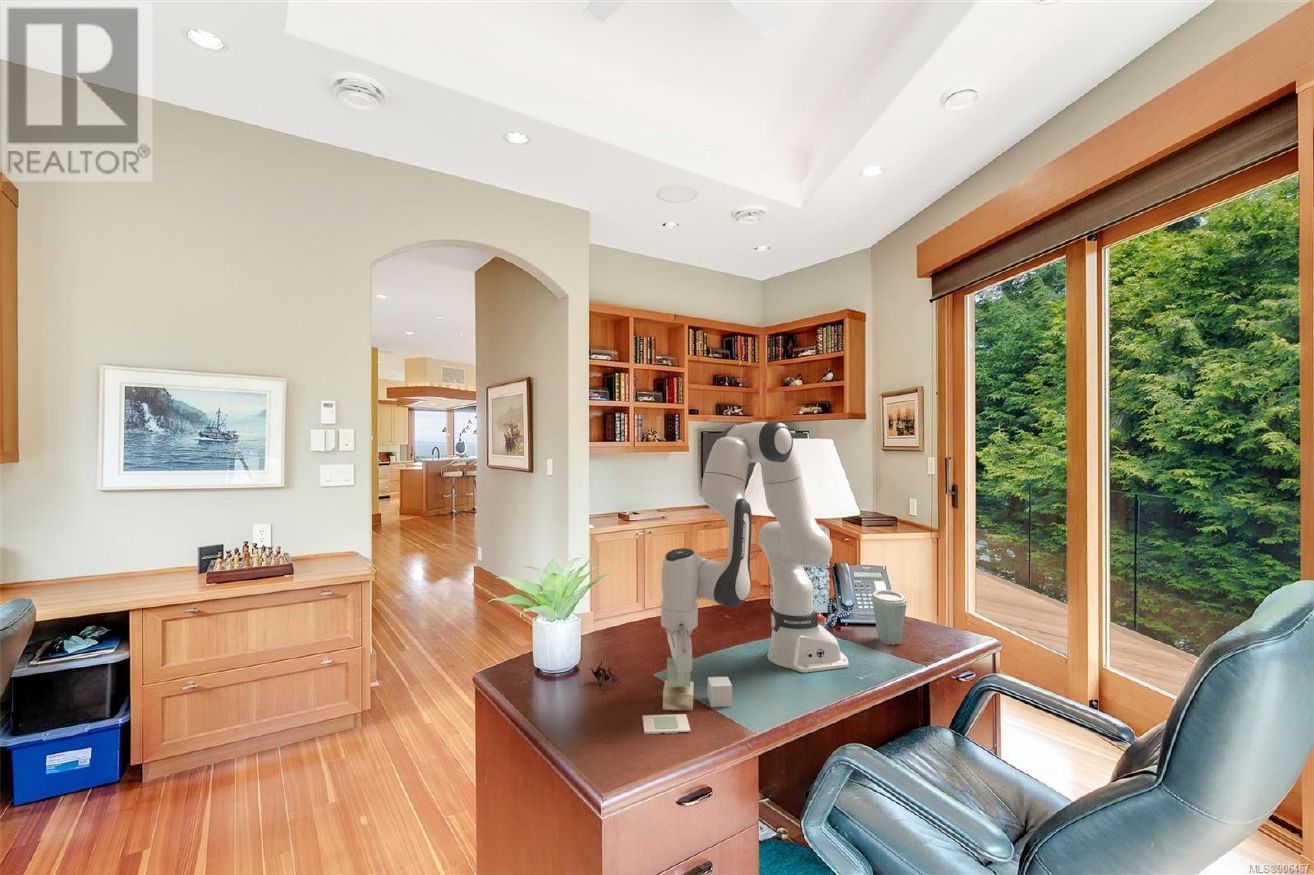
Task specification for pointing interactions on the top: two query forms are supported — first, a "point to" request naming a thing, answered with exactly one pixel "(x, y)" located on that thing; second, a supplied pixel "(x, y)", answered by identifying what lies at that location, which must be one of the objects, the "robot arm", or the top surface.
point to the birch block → (678, 697)
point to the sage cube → (673, 675)
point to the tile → (665, 724)
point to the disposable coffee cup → (889, 615)
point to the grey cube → (719, 692)
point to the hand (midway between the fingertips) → (678, 675)
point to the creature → (606, 677)
